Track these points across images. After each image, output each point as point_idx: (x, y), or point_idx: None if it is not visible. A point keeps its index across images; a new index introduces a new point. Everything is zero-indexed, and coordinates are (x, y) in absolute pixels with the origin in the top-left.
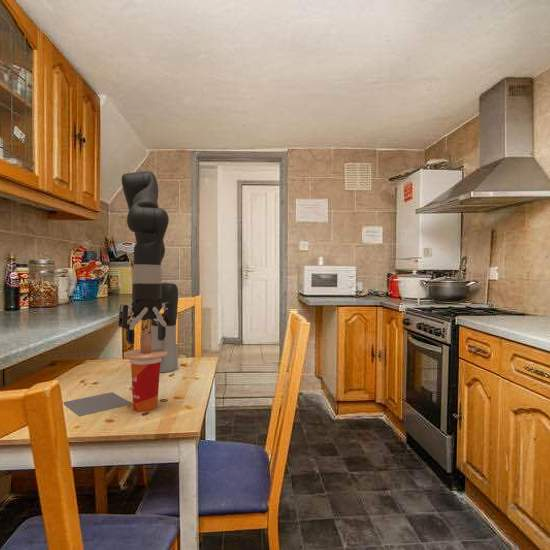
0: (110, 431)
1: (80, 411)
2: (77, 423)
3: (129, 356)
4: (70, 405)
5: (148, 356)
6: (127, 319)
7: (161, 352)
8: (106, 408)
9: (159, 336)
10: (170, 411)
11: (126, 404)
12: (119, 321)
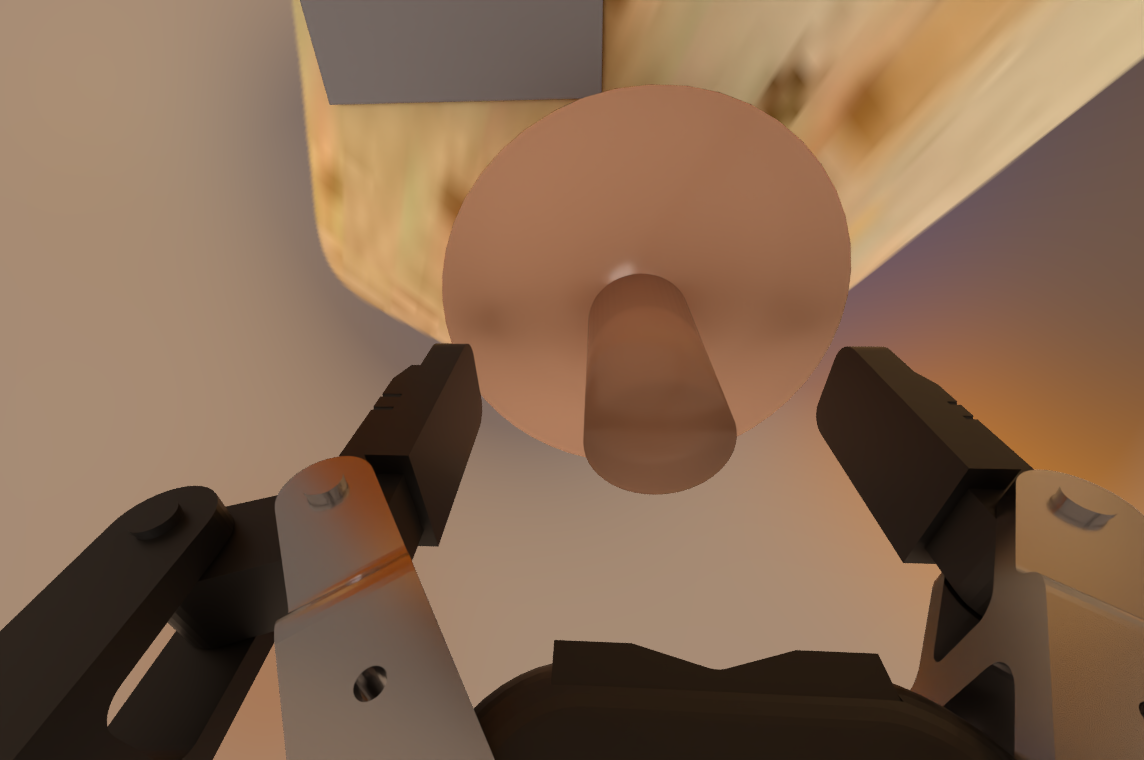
0: (436, 309)
1: (333, 23)
2: (332, 142)
3: None
4: None
5: (576, 449)
6: (214, 755)
7: (735, 396)
8: (462, 75)
9: (851, 407)
10: None
11: (568, 86)
12: (65, 621)
